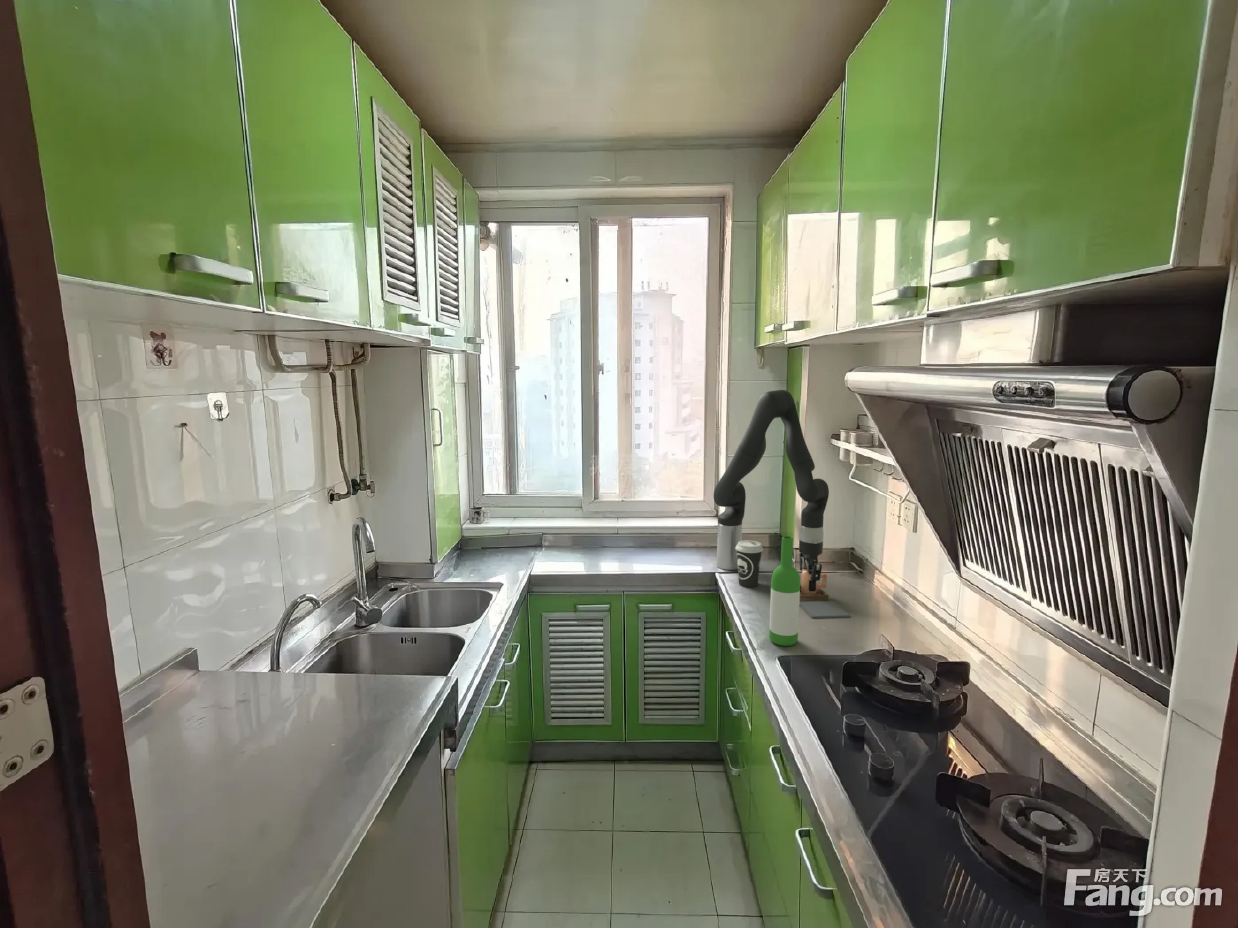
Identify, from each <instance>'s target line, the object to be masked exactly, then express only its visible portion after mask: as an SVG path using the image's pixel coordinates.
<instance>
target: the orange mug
mask: <svg viewBox="0 0 1238 928" xmlns="http://www.w3.org/2000/svg"><path fill="white" fill-rule="evenodd" d="M810 571H812V570H810ZM811 576H812V574H811ZM814 577H815V576H814ZM820 579H822V582H821V583H818V581H816V591H809V574H808V573H807V569H802V571H801V579H800V586H801V592H800V594H801V595H818V593H817V588H821V589H827V585H828V584H827V583H828V575H827V573H821V575H820Z"/></svg>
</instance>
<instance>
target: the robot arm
mask: <svg viewBox="0 0 1238 928" xmlns="http://www.w3.org/2000/svg"><path fill="white" fill-rule="evenodd" d="M798 414H799V413H798V410H797V405H796V403H795V400H794V397H793V395H792V394H791V392H789V391H788V390H786V389H778V390H777V389H776V390H770V391H766V392H763V394H761V395H760V397H759V399H758V401H757V402H756V405H755V408H754V411H753V413H752V415H751V419H750V422H749V424H748V425H747V428H746V429H745V432H744V435H743V437H742V438H741V440H740V442H739V444H738V446H737V449H736V450H735V453H734V455H733V457H732V458H731V460H730V463H729V464H728V466H727V468H726V470H725V472H723V475H722V476H721V477H720V479H719V481H718V482H717V484H716V486H715V487H714V490H713V501H714V503H715V505H717V506H718V507H722V508H725V507H726V509H725V510H723V512H721V513H720V514H718V516H717V541H716V544H717V545H716V546H717V547H716V567H717V568H718V569H722V570H728V571H731V570H732V571H735V570H738V561H737V550H736V549H735V548H736V545H737V544H738V542H739V541H743V540H742V537H743V519H744V517H745V511H746V510H745V509H746V499H747V496H746V495H747V494H746V489H745V486H744V485H743V482H741V481H742V479H743V478H745V477H746V476H747V475H749V474H750V473H751V472H752V471H753V470H755V468H756V467H757V466H758V465H759V463H760V462H761V460H762V458H763V456H764V454H765V452H766V448H767V439H766V434H767V430H768V429H769V427H770V425H771V423H772V422H773V421H774V419H778V418H780V420H781V422H782V423H783V426H784V429H785V450H786V457H787V459H788V461H789V463H790V465H791V468H792V470H793V473H794V475H793V476H794V481H795V487H796V488H795V489H796V491H797V494H798V496H799V497H800V499H802V500H803V501H804V502H806V503H807V504H806V506H805V507H803V508H802V510H801V513H800V514H801V516H800V529H799V540H798V541H799V544H798V551H799V570H800V571H801V572H802V569H807V573H808V574H809V591H816V581H817V582H818V581H821V578H820V575H821V574H822V568H823V566H822V564H821V563H819V559H818V556H820V555H822V554H823V550H824V534H825V533H824V513H825V511H826V508H827V504H828V499H829V495H830V490H829V485H828V483H827V482H826V481H825V480H824V479H822V478H814V477H813V471H814V470H815V468H816V466H815V462H814V460H813V458H812V454H811V453H810V450H809V447H808V446H807V443H806V441H805V437H804V434H803V430H802V427H801V422H800V417H799V415H798ZM810 570H812V571H810ZM811 574H812V576H811ZM814 576H815V577H814Z"/></svg>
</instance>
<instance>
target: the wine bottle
mask: <svg viewBox="0 0 1238 928" xmlns="http://www.w3.org/2000/svg"><path fill="white" fill-rule="evenodd" d="M793 547H794V537H793V536H790V535H784V536H782V537H781V551H780V552H781V553H780V565H778V566H777V567H776V568H775V569H774V570H773V572H772V574H771V581H770V582H771V584H770V603H769V604H770V605H769V628H768V629H769V634H768V635H769V636H768V637H769V639H770V641H771V642H772V643H773V644H775V645H778V646H782V647H790V646H794V645H796V644H797V642H798V638H799V617H800V606H799V600H800V594H801V592H800V586H801V576H800V574H799V571H798V570H797V569H796V567H795V566H793Z"/></svg>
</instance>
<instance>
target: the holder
mask: <svg viewBox="0 0 1238 928" xmlns="http://www.w3.org/2000/svg"><path fill="white" fill-rule="evenodd" d="M800 591H801V585H800ZM829 598H830V596H829V594H828V593H827V592H826V591H825V590H824V589H823V588H817V594H816V595H801V593H800V600H799V602H806V601H829Z"/></svg>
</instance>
